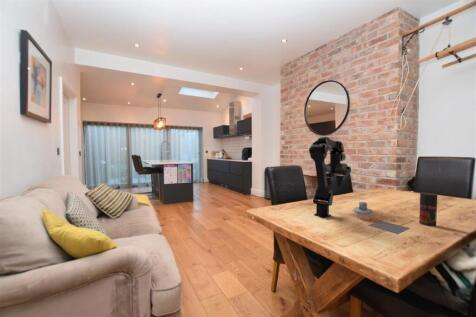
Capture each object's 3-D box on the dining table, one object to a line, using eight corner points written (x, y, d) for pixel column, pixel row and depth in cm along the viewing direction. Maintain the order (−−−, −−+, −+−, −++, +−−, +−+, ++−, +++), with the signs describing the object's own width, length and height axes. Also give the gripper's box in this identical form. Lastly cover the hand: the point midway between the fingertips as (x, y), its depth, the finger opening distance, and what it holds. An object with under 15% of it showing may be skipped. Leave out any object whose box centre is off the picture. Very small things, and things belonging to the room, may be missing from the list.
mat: (397, 235, 88) (397, 234, 88) (367, 226, 98) (367, 225, 98) (410, 229, 94) (410, 228, 94) (380, 222, 105) (380, 220, 105)
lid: (367, 215, 103) (367, 205, 103) (350, 210, 110) (350, 202, 110) (376, 212, 107) (376, 203, 107) (359, 208, 115) (359, 200, 114)
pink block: (365, 222, 104) (366, 214, 104) (352, 218, 110) (353, 211, 110) (372, 219, 108) (373, 212, 108) (359, 216, 113) (360, 209, 113)
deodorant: (419, 222, 104) (419, 192, 103) (435, 225, 100) (436, 193, 99) (419, 226, 99) (420, 194, 98) (436, 229, 95) (437, 195, 94)
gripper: (338, 163, 116) (337, 191, 117) (357, 162, 126) (356, 188, 127) (320, 162, 126) (320, 188, 126) (339, 161, 135) (339, 185, 136)
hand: (334, 187), depth 129 cm, fingers open, 9 cm apart
